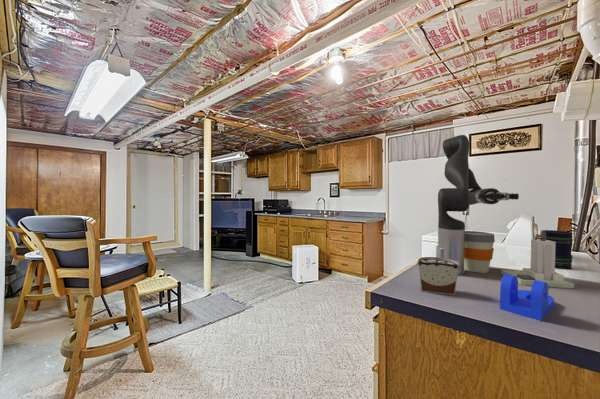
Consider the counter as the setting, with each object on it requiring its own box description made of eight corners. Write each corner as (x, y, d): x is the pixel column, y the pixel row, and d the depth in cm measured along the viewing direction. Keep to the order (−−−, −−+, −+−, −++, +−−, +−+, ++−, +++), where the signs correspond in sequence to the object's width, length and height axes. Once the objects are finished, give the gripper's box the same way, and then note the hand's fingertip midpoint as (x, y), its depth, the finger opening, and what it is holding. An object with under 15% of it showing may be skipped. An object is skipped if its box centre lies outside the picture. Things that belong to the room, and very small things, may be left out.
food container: (455, 288, 86) (456, 258, 86) (460, 295, 80) (460, 263, 80) (414, 284, 90) (415, 255, 90) (416, 290, 84) (416, 259, 84)
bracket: (541, 321, 64) (542, 285, 64) (499, 309, 71) (500, 276, 70) (556, 303, 75) (557, 272, 75) (519, 294, 81) (520, 265, 81)
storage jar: (538, 265, 114) (539, 231, 113) (541, 262, 120) (542, 229, 120) (571, 270, 106) (572, 234, 106) (572, 266, 113) (573, 231, 113)
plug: (539, 279, 91) (540, 232, 91) (530, 274, 96) (531, 230, 96) (556, 280, 90) (557, 232, 90) (546, 275, 95) (547, 230, 94)
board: (520, 284, 90) (521, 274, 90) (501, 273, 102) (501, 264, 102) (574, 288, 86) (574, 278, 86) (546, 276, 99) (547, 267, 99)
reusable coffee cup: (501, 274, 101) (502, 235, 100) (465, 273, 103) (466, 234, 102) (483, 265, 113) (484, 231, 113) (452, 264, 115) (453, 230, 115)
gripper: (470, 188, 128) (486, 187, 112) (504, 188, 124) (525, 187, 108) (470, 203, 128) (485, 205, 112) (504, 204, 124) (525, 205, 109)
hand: (505, 196), depth 110 cm, fingers open, 8 cm apart
